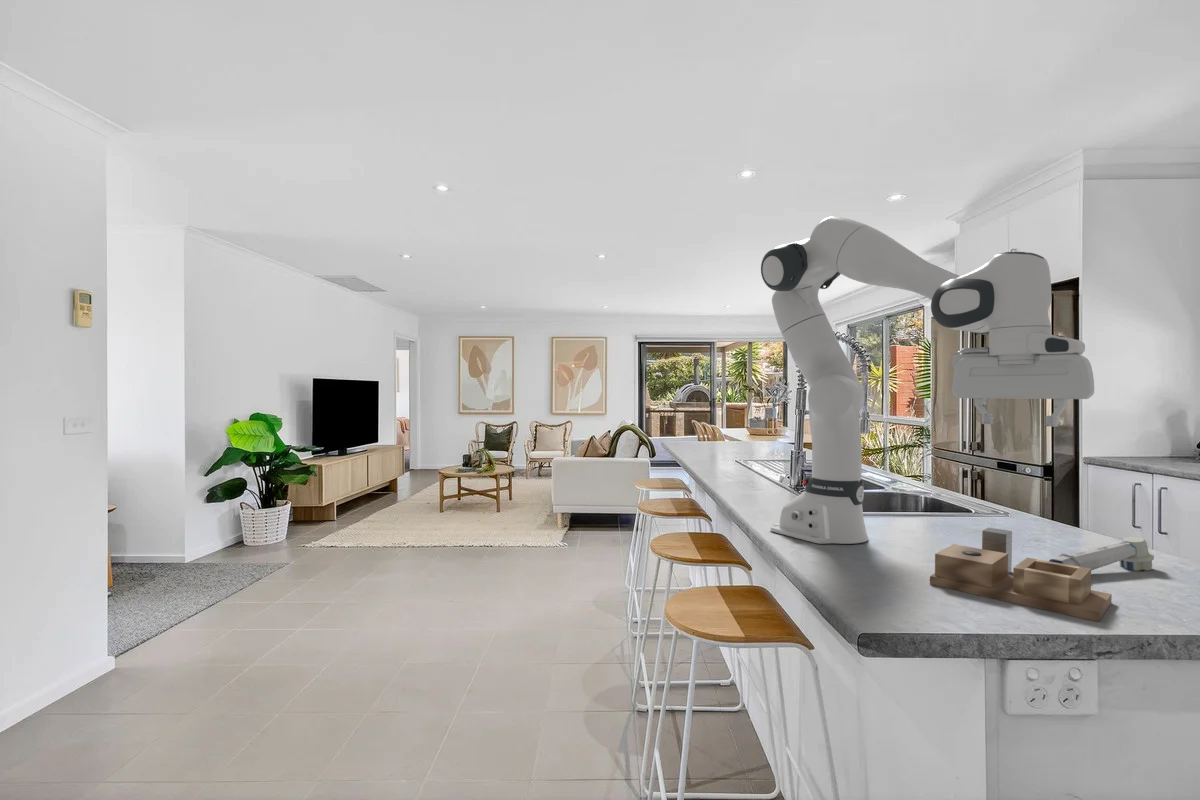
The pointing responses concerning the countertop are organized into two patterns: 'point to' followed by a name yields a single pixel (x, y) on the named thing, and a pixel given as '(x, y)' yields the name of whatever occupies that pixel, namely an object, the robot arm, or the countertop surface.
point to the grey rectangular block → (998, 542)
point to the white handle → (1112, 556)
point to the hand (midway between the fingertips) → (1018, 425)
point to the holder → (1020, 581)
